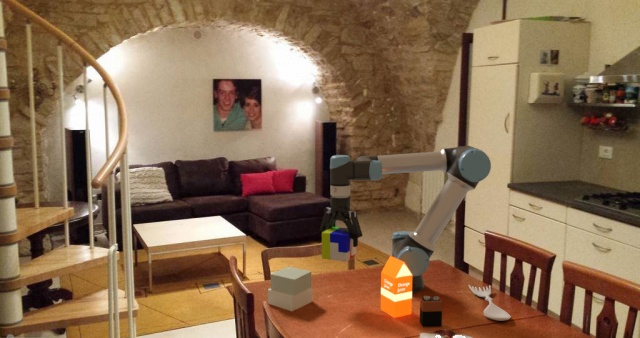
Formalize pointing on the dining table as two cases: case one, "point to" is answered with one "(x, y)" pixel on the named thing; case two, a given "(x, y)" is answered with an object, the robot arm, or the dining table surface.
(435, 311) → the battery
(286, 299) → the tower base
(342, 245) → the puzzle toy
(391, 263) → the orange juice
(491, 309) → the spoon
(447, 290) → the dining table surface
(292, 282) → the tower top
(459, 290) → the dining table surface
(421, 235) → the robot arm
